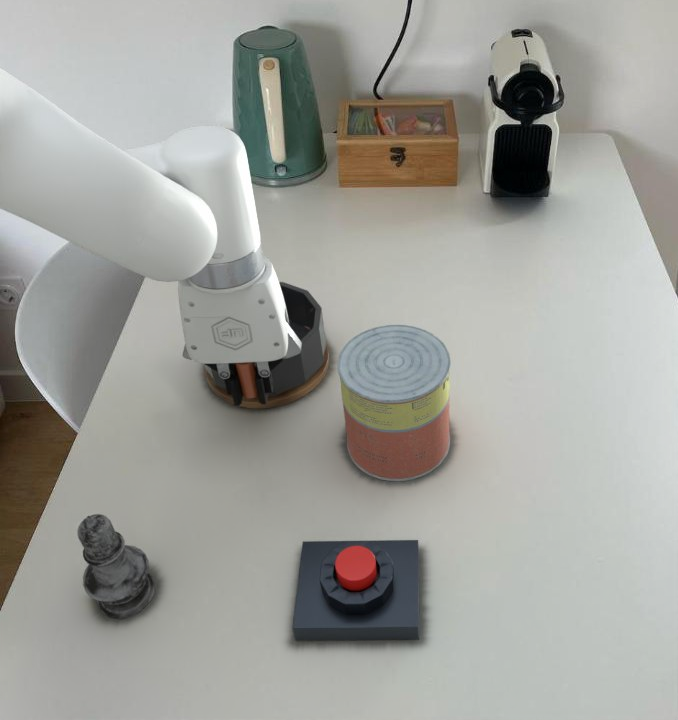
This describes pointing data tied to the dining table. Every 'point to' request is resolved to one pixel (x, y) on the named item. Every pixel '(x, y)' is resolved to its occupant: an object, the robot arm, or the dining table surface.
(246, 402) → the trivet
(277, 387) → the saucepan
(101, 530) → the grey chess pawn
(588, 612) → the dining table surface
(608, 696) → the dining table surface
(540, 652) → the dining table surface
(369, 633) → the button box
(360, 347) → the canned food
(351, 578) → the button
